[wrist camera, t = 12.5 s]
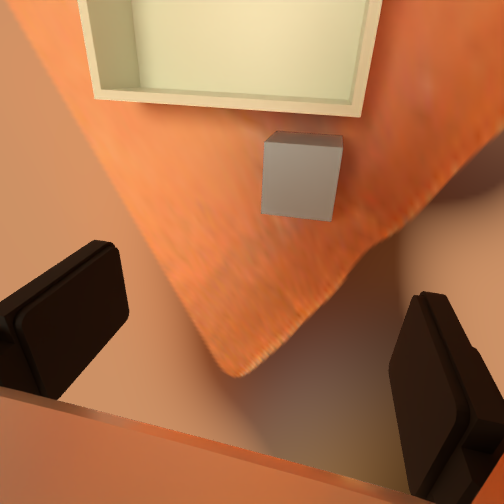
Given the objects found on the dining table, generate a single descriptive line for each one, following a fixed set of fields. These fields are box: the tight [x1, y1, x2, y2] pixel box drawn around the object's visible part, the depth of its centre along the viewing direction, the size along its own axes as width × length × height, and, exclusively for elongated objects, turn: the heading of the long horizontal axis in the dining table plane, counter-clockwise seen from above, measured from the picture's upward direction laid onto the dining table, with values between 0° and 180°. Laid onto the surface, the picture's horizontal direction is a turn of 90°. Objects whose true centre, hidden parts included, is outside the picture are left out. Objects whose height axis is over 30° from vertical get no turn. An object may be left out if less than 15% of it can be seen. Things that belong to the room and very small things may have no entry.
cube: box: [261, 131, 343, 222], centre depth 24 cm, size 5×5×5 cm
